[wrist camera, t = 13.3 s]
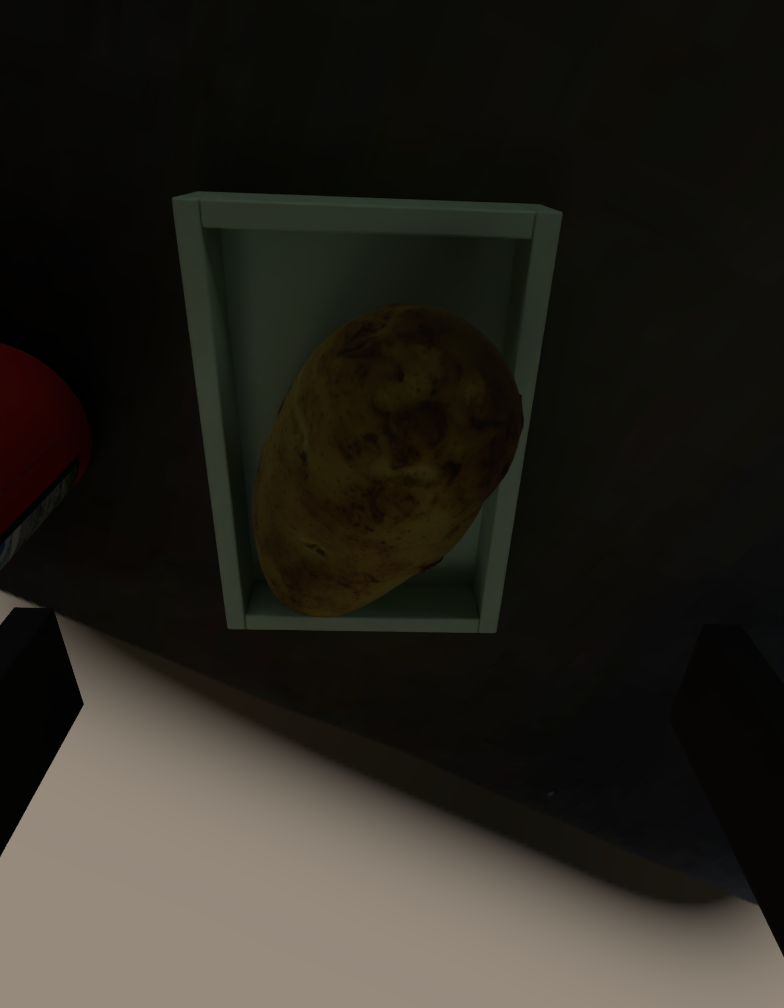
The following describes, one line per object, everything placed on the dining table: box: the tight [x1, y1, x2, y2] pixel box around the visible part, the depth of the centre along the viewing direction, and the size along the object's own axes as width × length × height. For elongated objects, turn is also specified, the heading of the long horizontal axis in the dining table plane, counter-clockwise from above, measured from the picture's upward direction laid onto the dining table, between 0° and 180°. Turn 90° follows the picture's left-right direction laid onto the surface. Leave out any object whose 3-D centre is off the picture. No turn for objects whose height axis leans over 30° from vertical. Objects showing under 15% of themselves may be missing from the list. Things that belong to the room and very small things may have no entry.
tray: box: [172, 191, 562, 633], centre depth 24 cm, size 12×17×3 cm
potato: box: [252, 303, 524, 618], centre depth 21 cm, size 8×13×8 cm, turn 135°
